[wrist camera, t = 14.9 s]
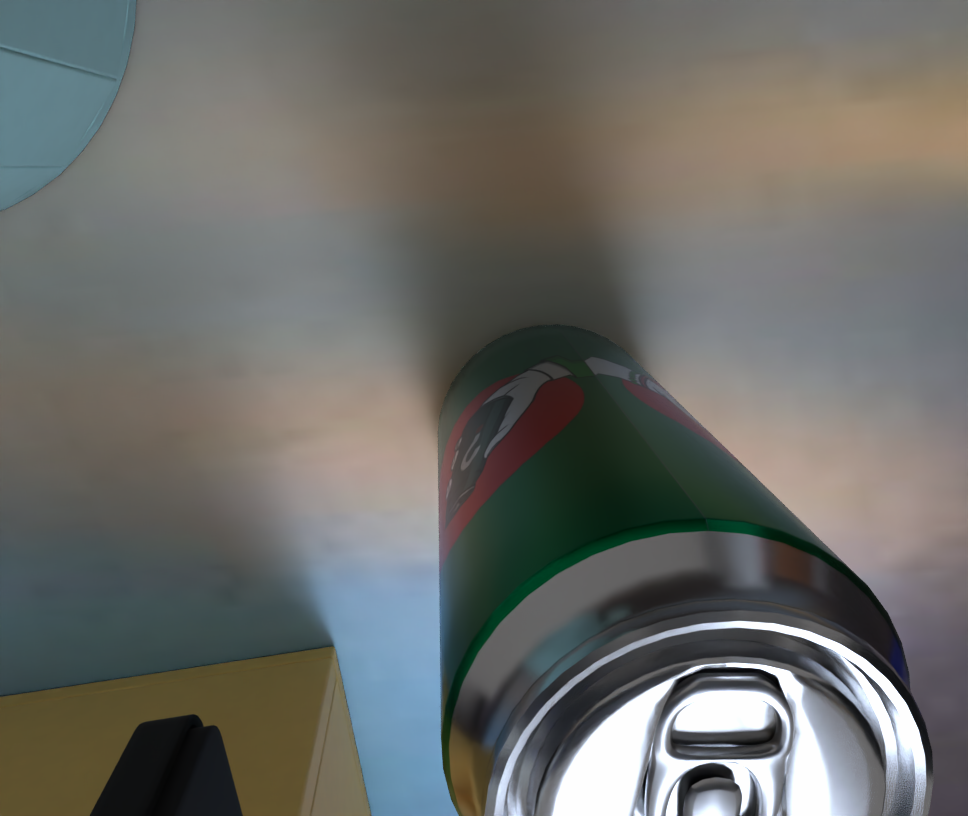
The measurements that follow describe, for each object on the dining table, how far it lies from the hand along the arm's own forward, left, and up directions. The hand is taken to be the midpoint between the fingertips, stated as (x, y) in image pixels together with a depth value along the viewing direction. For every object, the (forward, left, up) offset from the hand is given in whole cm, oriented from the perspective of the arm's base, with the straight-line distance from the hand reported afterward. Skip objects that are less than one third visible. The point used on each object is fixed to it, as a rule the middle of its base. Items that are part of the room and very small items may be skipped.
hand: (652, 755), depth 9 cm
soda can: (0, 0, -11) cm, 11 cm away
